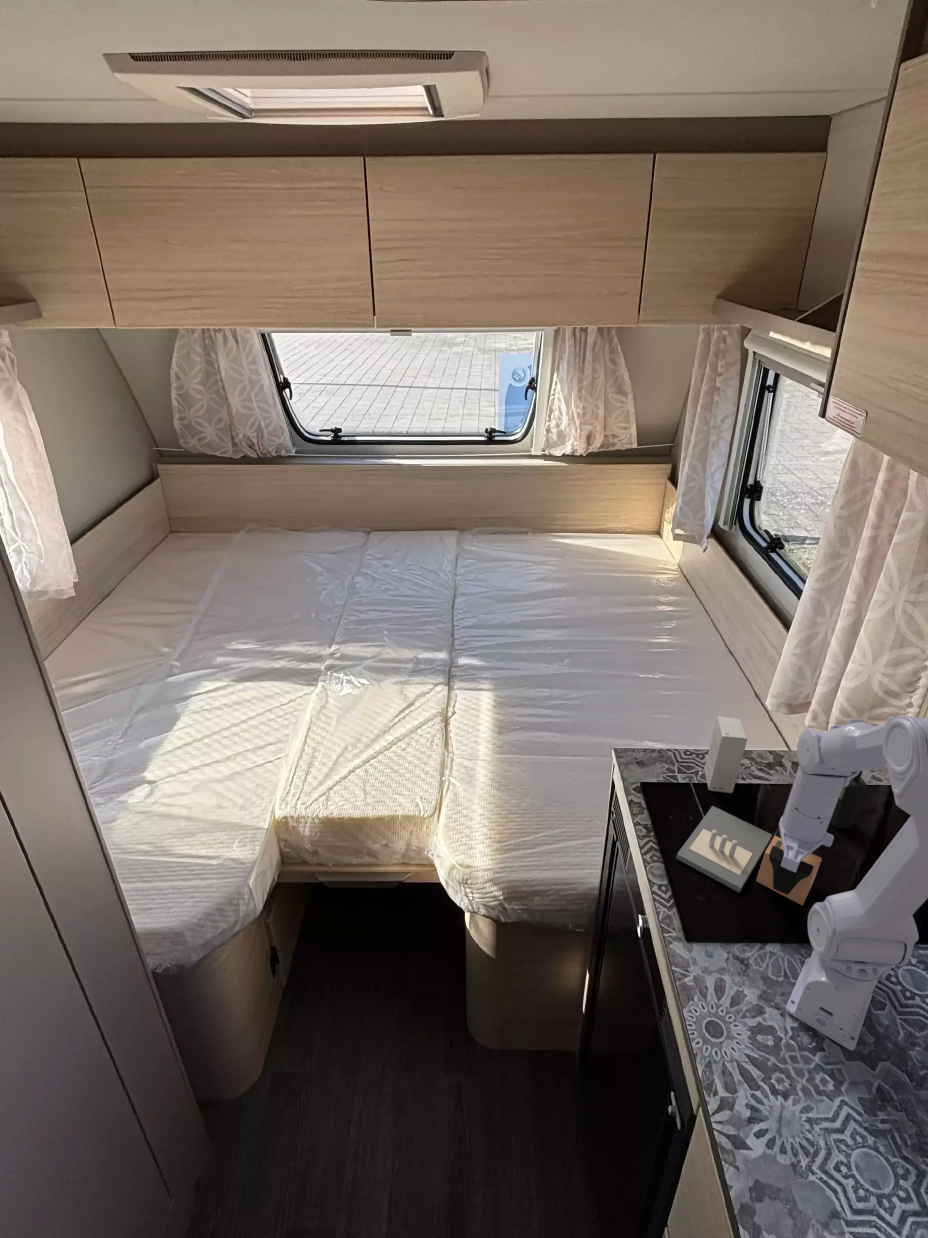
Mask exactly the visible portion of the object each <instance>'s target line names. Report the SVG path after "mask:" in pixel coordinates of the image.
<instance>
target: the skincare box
mask: <svg viewBox="0 0 928 1238" xmlns="http://www.w3.org/2000/svg"><path fill="white" fill-rule="evenodd" d="M747 743H748V737H747V733H746V731H745V729H744V725H743V722H742V719H741V718H737V717H736V718H734V717H725V716H719V715H718V716H717V717H716V720H715V725H714V728H713V731H712V737H711V741H710V743H709V748H708V752H707V757H706V759H705V765H704V769H703V770H704V774H705V779H706V784H707V788H708V791H712V792H720V793H728V794H733V792H734V789H735V786H736V781H737V778H738V775H739V771H740V767H741V764H742V759H743V757H744V753H745V750H746V745H747Z"/></svg>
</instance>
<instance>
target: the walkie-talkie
mask: <svg viewBox="0 0 928 1238" xmlns="http://www.w3.org/2000/svg"><path fill="white" fill-rule="evenodd" d="M862 775H863V771H860V772H859V774H858V775H857V776H856V777H854V778H852V779H851V780H850V782H849V785H848V786H846V787H842V790H841V793H840V795H839V798H838V801H837V804H836V806H835V809H834V812H833V814H832V817H831V820H830V822H829V824H831V825H832V827H834V829H850V828H851V827H852V825H853V822H854V819H855V817H856V814H857V812H858V809H859V807H860V804H861V801H862V799H863V796H864V793H865V791H866V788H867V782H865V780H864V779H863V778H862V777H861V776H862Z"/></svg>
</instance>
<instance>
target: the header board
mask: <svg viewBox="0 0 928 1238" xmlns="http://www.w3.org/2000/svg"><path fill="white" fill-rule="evenodd" d="M772 837H773V834H772V833H769V832H768V831H765V830H764V829H762V828H759V827H757V826H756V825H753V824H751V823H750V822H747V821H745V820H743V819H740V818H739V817H737V816H735V815H732V814H730V813H728V812H726V811H724V810H722V809H720V808H718V807H716V806H714V805H712V806H710V809H709V810H708V811H707V813H706V814H705V815H704V816H703V818H702V819H701V820H700V822H699V824H698V825H697V826H696V828H695V829H694V830H693V832H692V833H691V834H690V836H689V837H688V839H687V840H686V841H685V842H684V844H683V845H682V846H681V848H680V849H679V851H678V852H677V854H676V858H675V859H676V860H678V861H679V862H682V863H684V864H686V865H687V866H689V867H691V868H693V869H695V870H696V871H698V872H700V873H702V874H704V875H706V876H708V877H710V878H711V879H713V880H715V881H717V882H719V883H721V884H722V885H724V886H726V887H728V888H730V889H731V890H733V891H735V892H737V893H741V891H742V889H743V887H744V885H746V882H747V881H748V880H749V877H750V875H751V874H752V873H753V870H754V868H755V867H756V866H757V864H758V863H759V860H760V859H761V857H762V855H764V854H763V853H765V851H766V849H767V848H768V846H769V844H770V843H771V841H772Z"/></svg>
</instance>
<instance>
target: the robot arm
mask: <svg viewBox="0 0 928 1238" xmlns="http://www.w3.org/2000/svg"><path fill="white" fill-rule="evenodd" d="M796 757H797V762H798V765H799V766H798V768H797V769H798V770H797V772H796V775H795V778H794V780H793V784H792V787H791V791H790V794H789V798H788V800H787V803H786V806H785V809H784V812H783V815H782V816H781V817H780V819H779V822H778V828H779V833H780V838H781V840H782V845H783V850H782V849H780V848H778V847H775V846H772V849H771V851H770V854H769V860H770V862H771V864H772V867H773V888H774V889H776V890H778V891H780V892H782V893H784V894H786V895H788V894H789V893H790V892H791V891H792V890H793V888H794V887H795V886H796V884H797V883H798V882H799V881H800V880H802V879H804V878H807V877H809V876H810V874H811V873H812V870H813V867H814V866H813V865H811V864H808V863H806V862H804V861H801V860H803V859H804V858H805V857H806V856H808V855H809V854H810V853H813V852H814V851H815V850H817V849H818V848H819V847H820V846H825V847H828V848H830V847H831V846H832V845H833V842H834V839H835V837H834V835H833V834H831V833H829V832H827V830H828V827H829V824H830V820H831V817H832V814H833V812H834V809H835V806H836V804H837V801H838V798H839V795H840V793H841V790H842V787H846V786H848V785H849V782H850V780H851V779H852V778H854V777H856V776H857V775H858V774H859V772H860V771H862V772H863V771H864V772H865V771H869V770H874V769H877V768H880V767H881V766H882V765H883V764H884V763H886V766H887V770H888V776H889V781H890V785H891V789H892V790H891V791H892V793H893V797H894V803H895V805H896V806H897V807H898V808H899V809H901V810H902V811H904V812H905V813H907V814H908V815H910V816H909V817H908V819H907V820H906V821H905V823H904V824H903V826H902V827H900V830H899V831H898V832H897V833H896V835H895V836H894V837H893V839H892V840H891V841H890V843H889V844H888V845H887V846H886V848H885V850H883V852H882V853H881V855H880V856H879V857H878V859H877V860H876V861H875V862H874V864H873V865H872V867H871V868H870V869H869V870H868V872H867V873H866V874H865V875H864V877H863V878H862V880H861V881H860V882H859V884H858V885H857V886H856V888H855V889H853V890H849V891H844V892H839V893H836V894H832V895H829V896H826V897H825V899H824V901H822V902H820V901H819V902H815V903H814V904H813V905H812V907H811V908H810V909H809V912H808V915H807V934H808V939H809V942H810V944H811V947H812V949H813V951H812V953H811V955H810V957H808V958H806V959H805V962H804V964H803V966H802V968H801V972H800V974H799V975H798V978H797V980H796V983H795V985H794V988H793V989H792V991H791V994H790V997H789V999H788V1001H787V1004H786V1006H785V1010H786V1012H788V1014H790V1015H792V1017H793V1016H794V1017H795V1018H796V1019H798V1020H800V1021H801V1022H803V1023H804V1024H806V1025H808V1026H810V1027H811V1028H813V1029H815V1030H817V1031H818V1032H819V1033H821V1034H823V1035H825V1036H826V1037H828V1038H829V1039H831V1040H833V1041H834V1042H836V1043H837V1044H839V1045H841V1046H842V1047H845V1048H846V1049H847V1050H849V1051H854V1050H855V1048H856V1046H857V1042H858V1040H859V1036H860V1033H861V1031H862V1027H863V1024H864V1021H865V1018H866V1015H867V1012H868V1009H869V1006H870V1003H871V999H872V997H873V991H874V990H875V988H876V986H877V983H878V981H879V979H880V977H881V975H882V974H883V973H890V971H891V970H892V967H893V966H896V967H904V966H906V965H907V964H908V962H909V961H910V959H911V957H912V954H913V950H914V945H915V944H916V942H918V941H919V939H920V938H919V937H920V936H919V931H918V927H917V924H916V922H915V918H914V917H913V915H914V914H915V913H916V912H917V910H918V909H919V908H920V907H922V905H923V904H924V903H925V902H926V901H927V899H928V718H925V717H914V716H912V715H907V714H906V715H903V714H901V715H898V716H888V717H887V719H886V722H883V723H881V724H877V725H873V724H871V723H868V722H865V721H864V719H861V718H848V719H847V720H846V725H831V726H830V727H829V729H828V730H825V731H824V730H814V729H810V728H806V729H804V730H803V731H802V732H800V734H799V736H798V739H797V744H796Z"/></svg>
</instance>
